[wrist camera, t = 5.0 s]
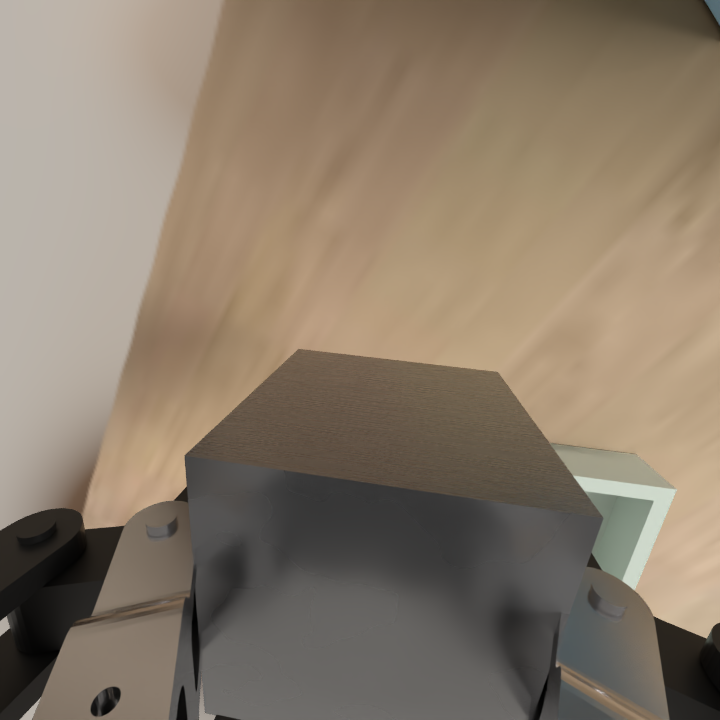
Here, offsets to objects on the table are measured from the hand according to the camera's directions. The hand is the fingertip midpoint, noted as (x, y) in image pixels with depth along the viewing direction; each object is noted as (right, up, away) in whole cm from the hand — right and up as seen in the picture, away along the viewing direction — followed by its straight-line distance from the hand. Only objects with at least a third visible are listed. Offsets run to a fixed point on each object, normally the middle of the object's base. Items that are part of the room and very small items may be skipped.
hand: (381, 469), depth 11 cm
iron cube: (0, 0, +1) cm, 1 cm away
